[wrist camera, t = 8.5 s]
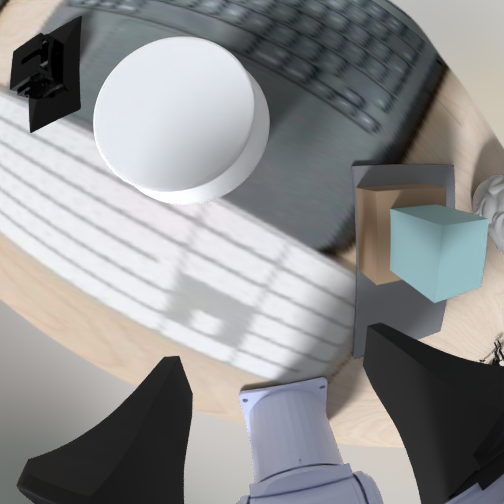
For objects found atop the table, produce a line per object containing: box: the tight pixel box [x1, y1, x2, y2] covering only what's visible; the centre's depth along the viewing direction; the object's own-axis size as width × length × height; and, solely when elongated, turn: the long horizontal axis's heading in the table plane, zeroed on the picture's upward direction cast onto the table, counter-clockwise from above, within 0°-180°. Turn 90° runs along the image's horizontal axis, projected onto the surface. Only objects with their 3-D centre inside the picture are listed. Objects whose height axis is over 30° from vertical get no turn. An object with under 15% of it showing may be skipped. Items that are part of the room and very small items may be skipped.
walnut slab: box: [356, 184, 446, 285], centre depth 17 cm, size 6×6×3 cm
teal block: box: [390, 204, 489, 303], centre depth 14 cm, size 4×4×5 cm
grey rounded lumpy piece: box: [472, 175, 504, 253], centre depth 16 cm, size 6×7×7 cm
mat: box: [351, 164, 455, 359], centre depth 20 cm, size 16×10×1 cm, turn 7°
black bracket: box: [10, 16, 82, 133], centre depth 12 cm, size 12×7×5 cm, turn 10°
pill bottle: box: [93, 37, 270, 205], centre depth 12 cm, size 6×6×11 cm
